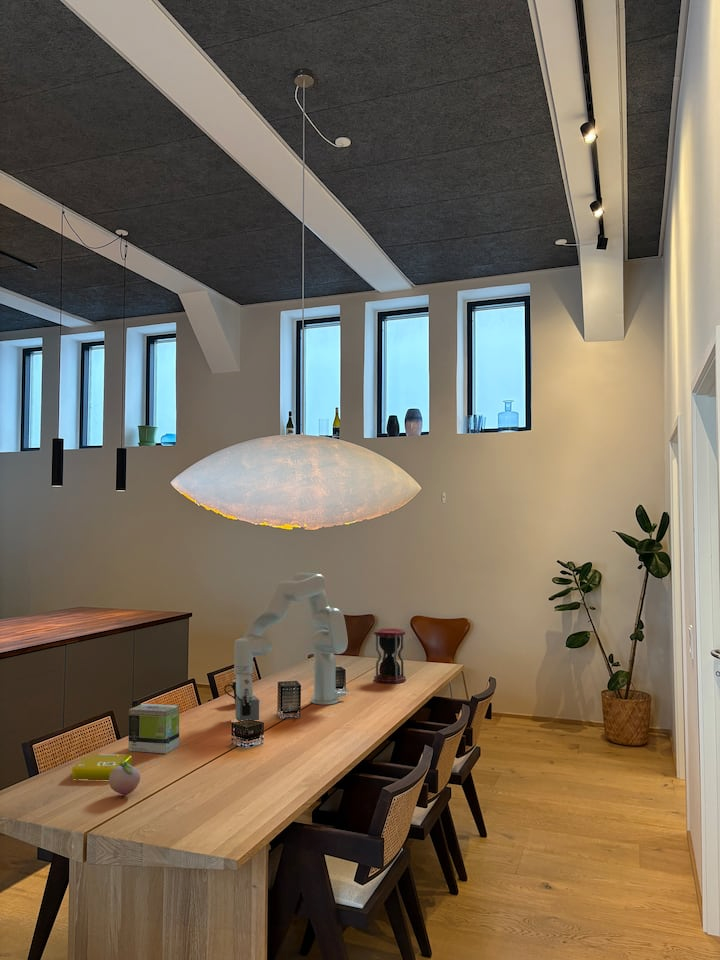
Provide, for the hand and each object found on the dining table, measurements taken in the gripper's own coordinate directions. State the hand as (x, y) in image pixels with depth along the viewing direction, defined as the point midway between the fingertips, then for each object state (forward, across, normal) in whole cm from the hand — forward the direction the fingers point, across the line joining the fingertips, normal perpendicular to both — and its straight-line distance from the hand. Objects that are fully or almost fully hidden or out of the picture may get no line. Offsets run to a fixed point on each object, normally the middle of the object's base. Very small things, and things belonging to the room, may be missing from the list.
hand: (243, 712), depth 303 cm
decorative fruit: (+4, -68, +52) cm, 86 cm away
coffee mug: (+4, +29, -5) cm, 30 cm away
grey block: (+3, 0, -2) cm, 4 cm away
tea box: (+4, -24, +38) cm, 45 cm away
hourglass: (+4, +46, -86) cm, 98 cm away
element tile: (+4, -44, +56) cm, 72 cm away
